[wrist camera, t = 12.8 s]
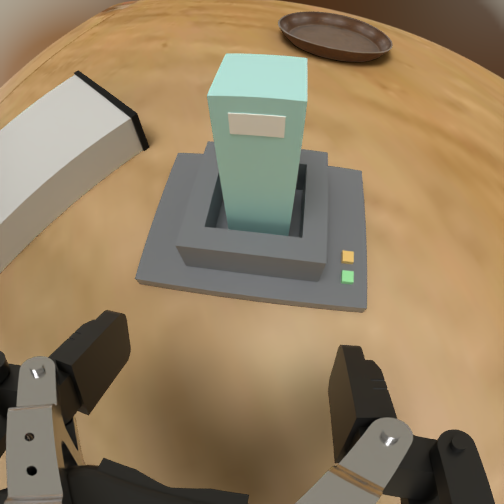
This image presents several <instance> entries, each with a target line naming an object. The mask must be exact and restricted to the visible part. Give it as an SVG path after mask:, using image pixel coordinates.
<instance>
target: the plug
mask: <svg viewBox="0 0 504 504" xmlns="http://www.w3.org/2000/svg"><path fill="white" fill-rule="evenodd" d="M207 100H208V106H209V113H210V119H211V126H212V132H213V138H214V145H215V151H216V157H217V163H218V169H219V176H220V182H221V188H222V194H223V200H224V206H225V212H226V217H227V223H228V229H230V230H239V231H248V232H257V233H266V234H274V235H283V236H288V235H289V229H290V222H291V216H292V209H293V203H294V196H295V189H296V182H297V175H298V168H299V161H300V154H301V146H302V139H303V131H304V123H305V115H306V107H307V58H301V57H291V56H279V55H263V54H226V55H225V57H224V59H223V61H222V63H221V65H220V68H219V70H218V72H217V74H216V76H215V78H214V81H213V83H212V85H211V87H210V90H209V92H208V94H207Z"/></svg>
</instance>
